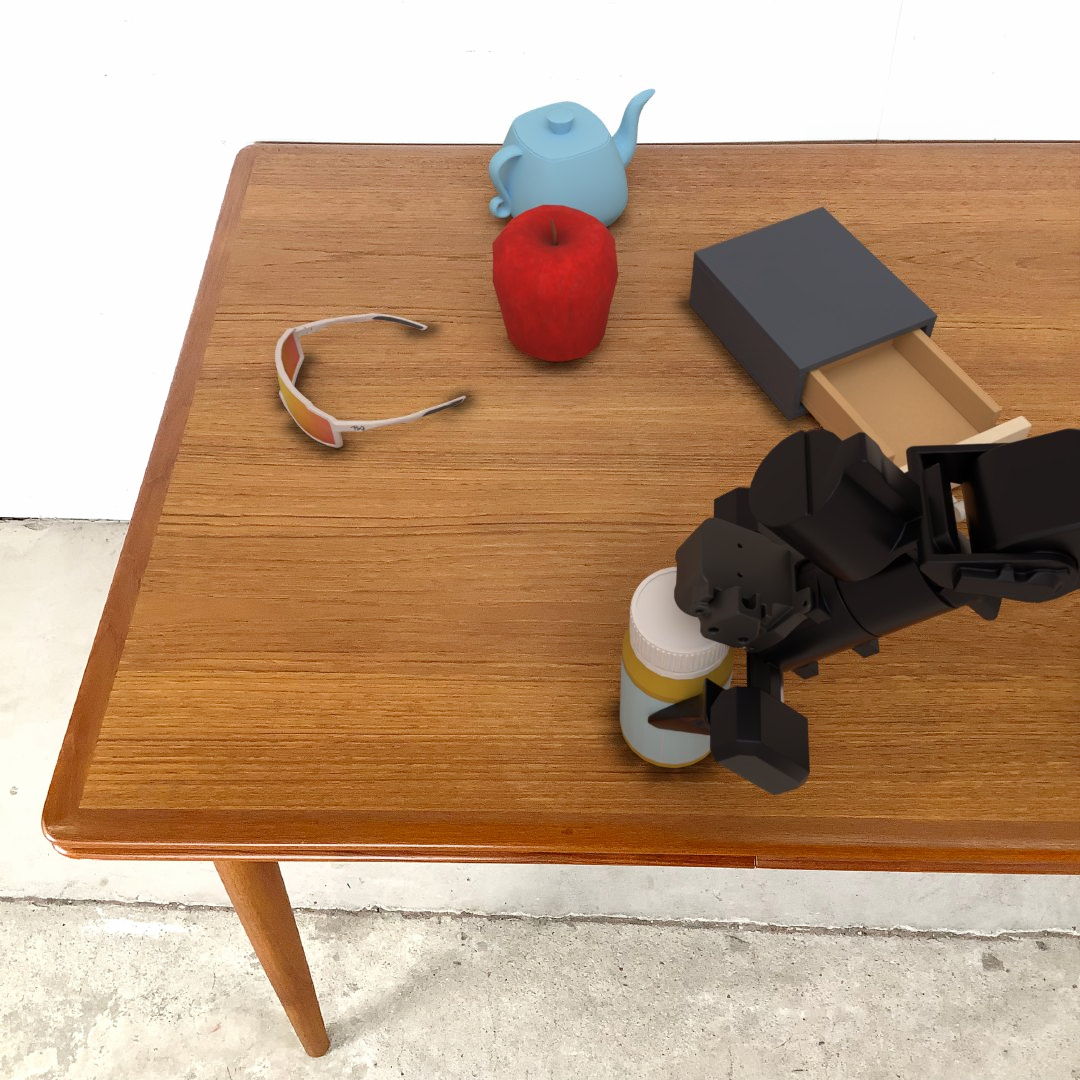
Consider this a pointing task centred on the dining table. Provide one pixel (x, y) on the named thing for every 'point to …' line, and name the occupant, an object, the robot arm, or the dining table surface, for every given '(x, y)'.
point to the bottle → (666, 672)
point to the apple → (555, 281)
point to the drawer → (906, 401)
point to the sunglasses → (303, 410)
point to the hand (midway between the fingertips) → (654, 673)
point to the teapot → (566, 161)
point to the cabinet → (800, 301)
